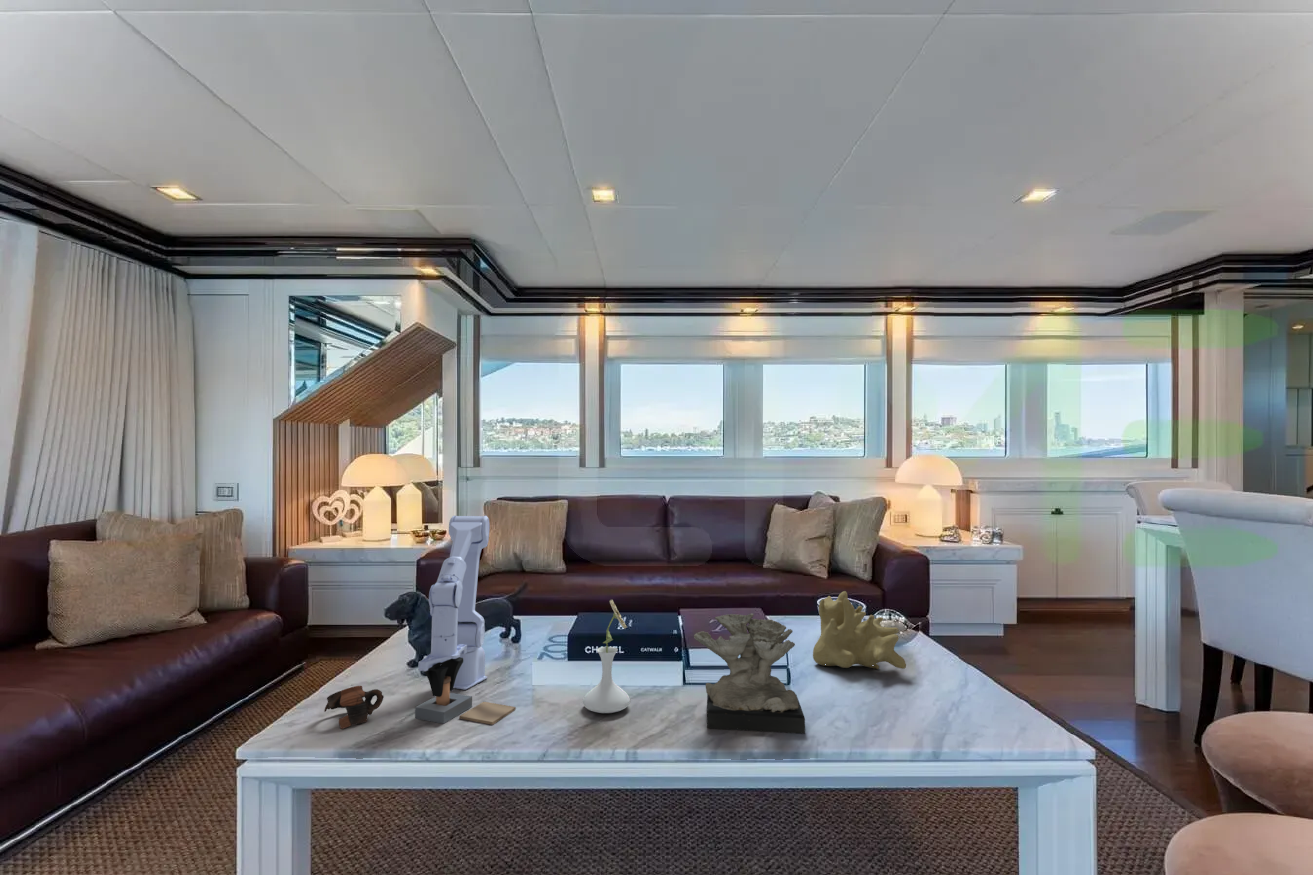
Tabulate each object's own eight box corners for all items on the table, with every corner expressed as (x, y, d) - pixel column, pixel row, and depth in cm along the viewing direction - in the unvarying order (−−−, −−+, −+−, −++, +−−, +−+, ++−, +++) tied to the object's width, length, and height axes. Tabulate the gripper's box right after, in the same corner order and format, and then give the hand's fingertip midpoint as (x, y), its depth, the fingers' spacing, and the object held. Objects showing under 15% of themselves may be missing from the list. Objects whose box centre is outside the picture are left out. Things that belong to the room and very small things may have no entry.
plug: (441, 705, 140) (442, 675, 141) (453, 707, 139) (453, 676, 140) (431, 710, 137) (432, 679, 138) (443, 712, 136) (444, 681, 136)
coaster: (483, 703, 143) (483, 701, 143) (515, 709, 140) (515, 706, 140) (459, 718, 135) (459, 715, 135) (492, 724, 132) (492, 722, 132)
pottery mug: (325, 735, 127) (318, 696, 130) (334, 738, 135) (327, 701, 138) (385, 712, 131) (377, 675, 135) (390, 716, 139) (383, 681, 142)
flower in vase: (623, 720, 135) (624, 609, 136) (575, 715, 137) (577, 606, 138) (636, 698, 148) (637, 597, 149) (592, 694, 150) (594, 594, 151)
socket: (444, 702, 144) (444, 691, 144) (471, 706, 141) (472, 696, 141) (414, 718, 135) (415, 706, 135) (443, 723, 132) (444, 712, 132)
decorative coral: (783, 614, 187) (848, 567, 185) (824, 663, 190) (887, 617, 188) (806, 659, 162) (881, 605, 159) (852, 715, 165) (926, 662, 163)
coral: (690, 727, 132) (691, 629, 133) (696, 693, 152) (697, 608, 153) (805, 735, 128) (805, 635, 129) (795, 699, 148) (795, 612, 150)
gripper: (437, 644, 131) (435, 706, 130) (477, 627, 145) (476, 684, 144) (411, 640, 133) (409, 702, 133) (454, 625, 147) (452, 680, 146)
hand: (442, 692), depth 138 cm, fingers closed on plug, 3 cm apart
